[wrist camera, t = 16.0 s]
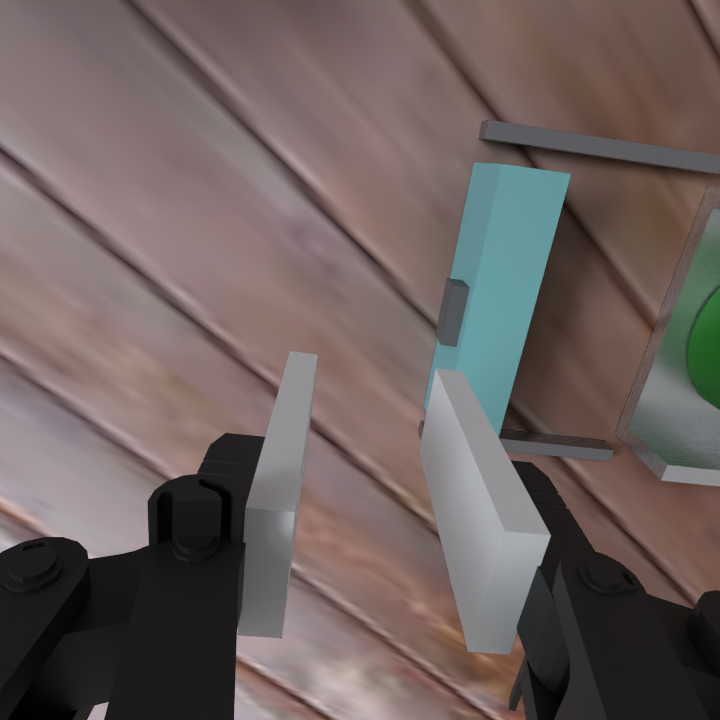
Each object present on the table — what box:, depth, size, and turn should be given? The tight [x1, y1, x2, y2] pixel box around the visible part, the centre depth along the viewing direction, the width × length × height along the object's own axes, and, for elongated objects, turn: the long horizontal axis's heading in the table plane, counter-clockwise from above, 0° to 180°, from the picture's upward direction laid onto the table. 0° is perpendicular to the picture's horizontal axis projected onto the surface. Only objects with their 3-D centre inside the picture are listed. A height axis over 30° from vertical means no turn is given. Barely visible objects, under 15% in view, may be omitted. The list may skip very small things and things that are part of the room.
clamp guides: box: [419, 120, 720, 462], centre depth 28 cm, size 18×12×1 cm
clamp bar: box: [424, 162, 571, 438], centre depth 26 cm, size 14×4×5 cm, turn 172°
